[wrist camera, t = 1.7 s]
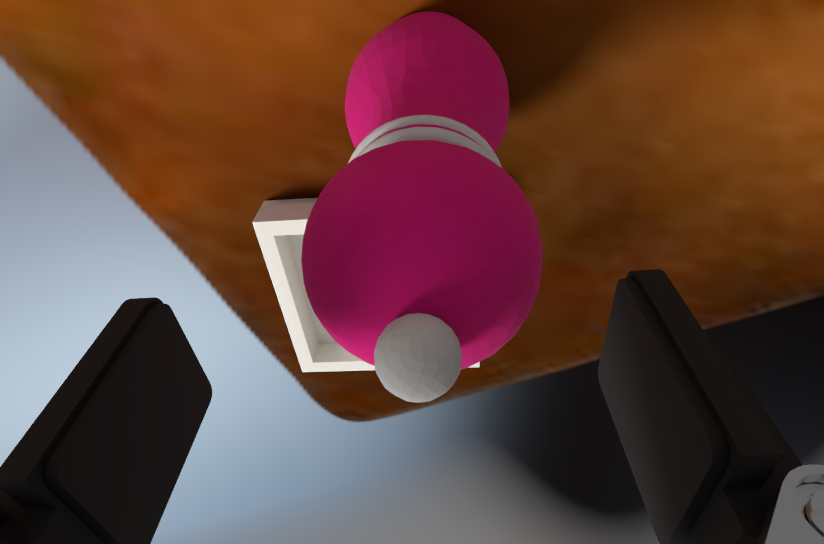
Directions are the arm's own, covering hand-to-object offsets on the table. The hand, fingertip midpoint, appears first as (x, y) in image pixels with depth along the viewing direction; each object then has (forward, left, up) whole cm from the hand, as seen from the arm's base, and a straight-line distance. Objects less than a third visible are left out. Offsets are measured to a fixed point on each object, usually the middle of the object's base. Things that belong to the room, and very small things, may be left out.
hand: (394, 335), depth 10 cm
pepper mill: (-1, 0, -19) cm, 19 cm away
